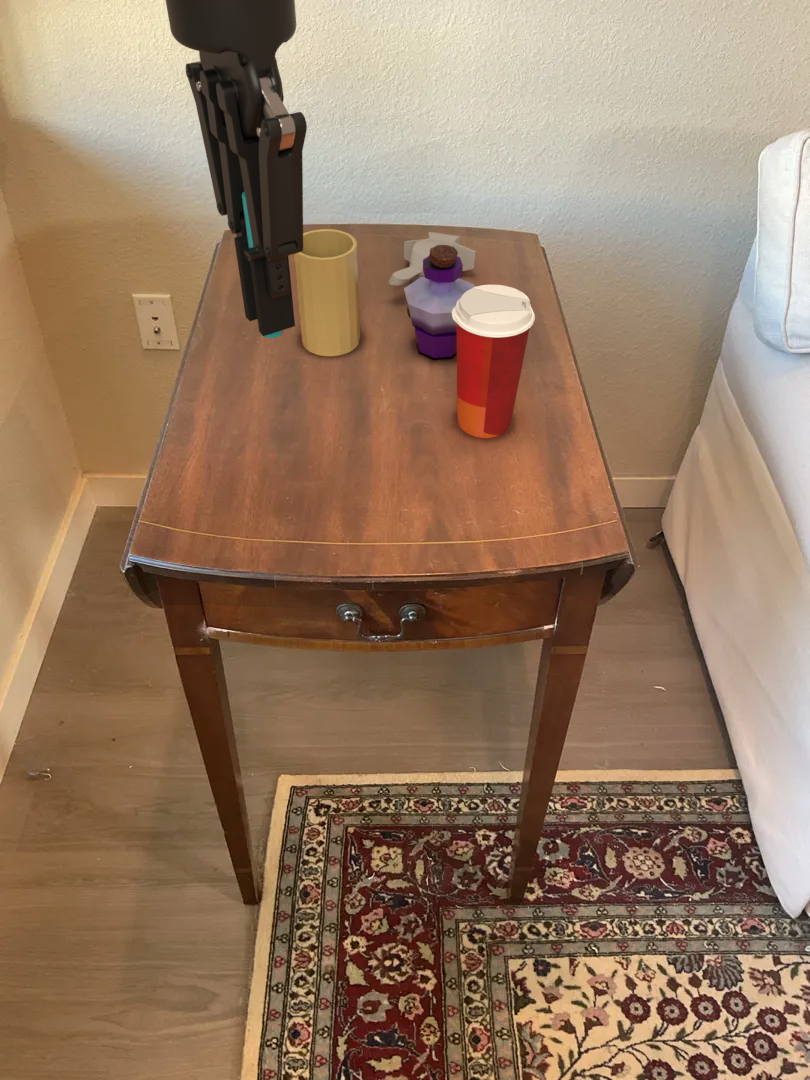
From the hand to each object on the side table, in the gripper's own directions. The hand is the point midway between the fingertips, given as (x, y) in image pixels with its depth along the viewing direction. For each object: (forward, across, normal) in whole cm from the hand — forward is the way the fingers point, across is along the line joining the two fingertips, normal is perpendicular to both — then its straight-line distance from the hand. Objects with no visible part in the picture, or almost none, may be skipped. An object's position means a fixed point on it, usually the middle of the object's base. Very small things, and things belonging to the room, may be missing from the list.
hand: (270, 321), depth 65 cm
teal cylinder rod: (+1, 0, 0) cm, 1 cm away
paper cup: (+20, +1, -23) cm, 30 cm away
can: (+20, +23, -16) cm, 34 cm away
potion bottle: (+20, +15, -27) cm, 36 cm away
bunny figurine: (+20, +28, -34) cm, 49 cm away
